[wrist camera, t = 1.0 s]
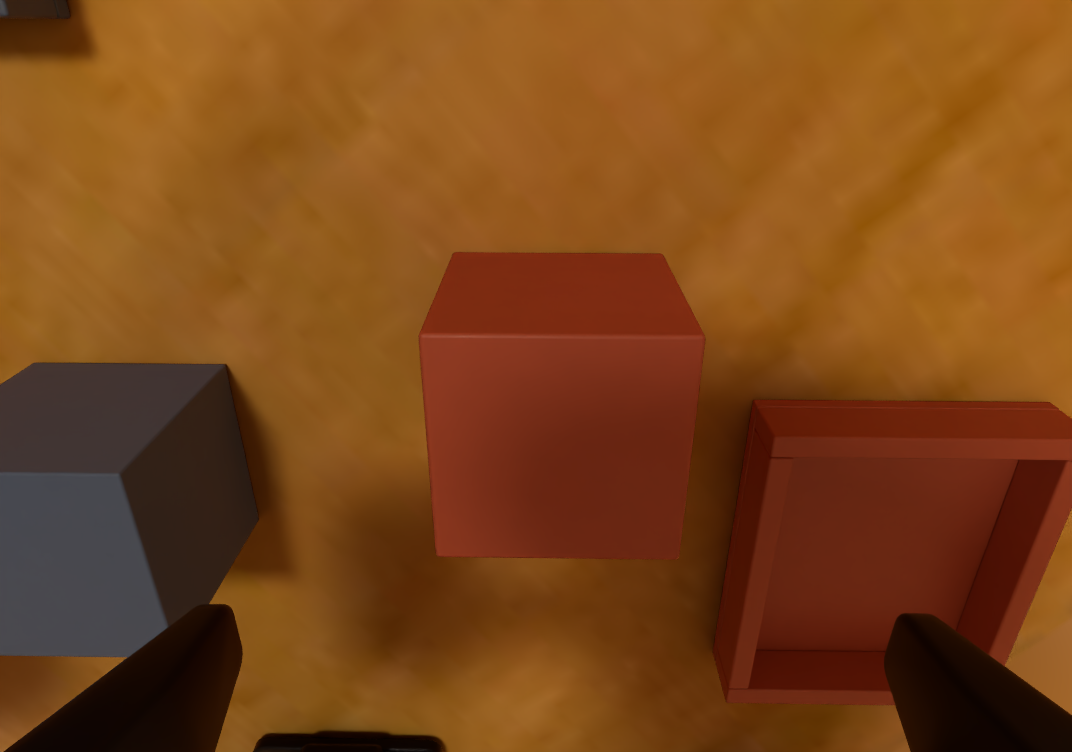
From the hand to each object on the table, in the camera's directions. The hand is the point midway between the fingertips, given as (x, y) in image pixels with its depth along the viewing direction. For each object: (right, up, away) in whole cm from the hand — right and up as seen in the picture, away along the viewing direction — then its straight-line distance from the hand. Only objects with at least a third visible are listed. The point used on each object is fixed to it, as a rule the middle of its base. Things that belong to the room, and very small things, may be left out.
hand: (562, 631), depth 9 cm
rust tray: (+9, -1, +11) cm, 14 cm away
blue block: (-11, +2, +10) cm, 15 cm away
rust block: (0, +4, +8) cm, 9 cm away
